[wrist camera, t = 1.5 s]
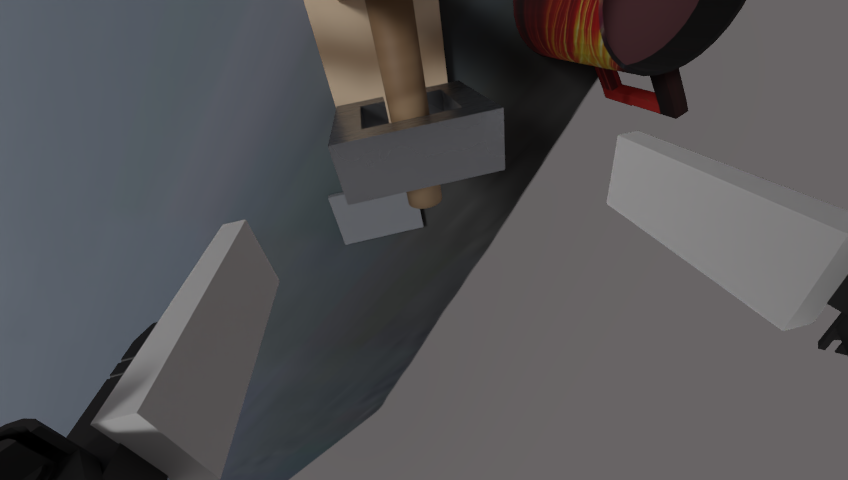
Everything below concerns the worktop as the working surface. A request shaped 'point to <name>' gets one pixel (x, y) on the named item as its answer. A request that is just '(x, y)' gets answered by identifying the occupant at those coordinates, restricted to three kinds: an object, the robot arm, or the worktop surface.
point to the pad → (374, 217)
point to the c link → (416, 143)
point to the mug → (628, 41)
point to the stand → (382, 58)
